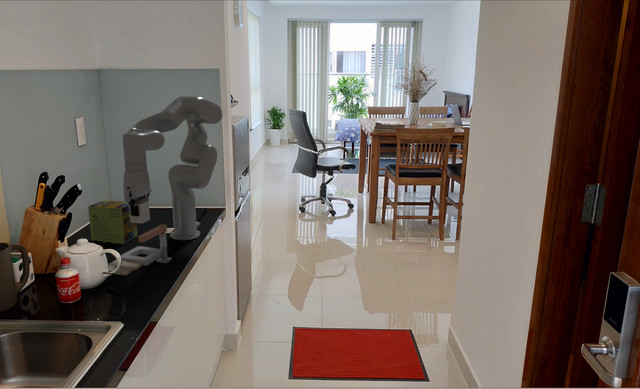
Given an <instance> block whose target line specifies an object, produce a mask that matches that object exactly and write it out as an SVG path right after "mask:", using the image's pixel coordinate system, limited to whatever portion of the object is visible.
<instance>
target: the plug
mask: <svg viewBox="0 0 640 389" xmlns="http://www.w3.org/2000/svg"><path fill="white" fill-rule="evenodd" d="M132 200H133V201H134V199H132ZM149 200H150V199H149V198H148V197H144V196H141V197H139V198H138V201H137V206H138V208H139V216H138V217H137V216H131V212H130V222H133V223H136V224H145V223H146V222H148V221H150V220H151V216H150V215H151V214H150V213H151V212H150V201H149ZM129 211H130V206H129Z"/></svg>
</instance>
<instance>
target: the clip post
mask: <svg viewBox="0 0 640 389" xmlns="http://www.w3.org/2000/svg"><path fill="white" fill-rule="evenodd" d="M158 236H159V238H158V239H159V249H160V254H161V257H160V258H158V259H157V260H155V262H156V263H159V262H160V264H167V263H169V262H171V261H172V260H173V257H170V256H169V257H168V244H167V231H166V232H162V233H160V234H159V235H158Z"/></svg>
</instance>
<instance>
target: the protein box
mask: <svg viewBox="0 0 640 389" xmlns="http://www.w3.org/2000/svg"><path fill="white" fill-rule="evenodd" d="M88 217H89V229H90V240H97V241H104V242H103V243H106V242H111V243H110V244H120V245H126V244H127V243H129V242H131V241H132V240H134V239H135V238H137V237H138V228H137V227H138V223H133V222H130V211H129V204H128V203H127V202H126V201H122V200H121V201H119V200H106V199H105V200H103V199H102V200H101V201H98V202H95V203H93V204H91V205H88Z"/></svg>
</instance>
